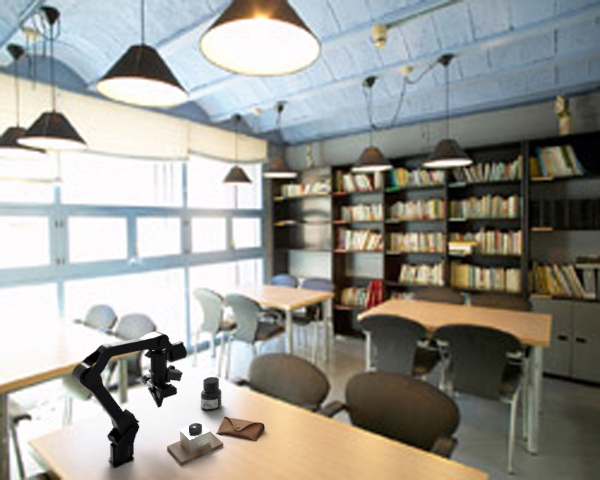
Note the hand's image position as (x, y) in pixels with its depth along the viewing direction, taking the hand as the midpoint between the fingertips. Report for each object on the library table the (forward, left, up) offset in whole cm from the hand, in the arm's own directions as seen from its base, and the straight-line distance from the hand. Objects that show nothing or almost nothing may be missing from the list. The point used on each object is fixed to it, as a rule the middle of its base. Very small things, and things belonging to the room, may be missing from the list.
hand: (159, 406), depth 135 cm
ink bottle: (+27, +10, -13) cm, 32 cm away
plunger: (+8, -13, -11) cm, 19 cm away
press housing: (+8, -13, -12) cm, 19 cm away
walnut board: (+8, -13, -13) cm, 20 cm away
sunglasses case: (+26, -15, -14) cm, 33 cm away
